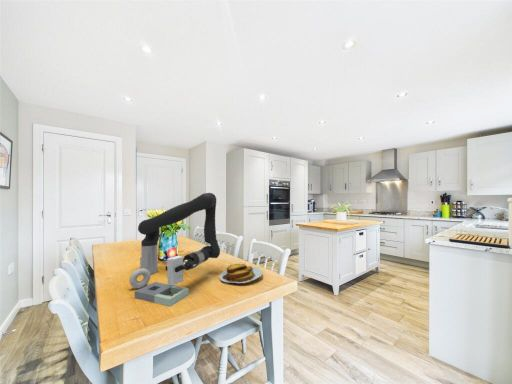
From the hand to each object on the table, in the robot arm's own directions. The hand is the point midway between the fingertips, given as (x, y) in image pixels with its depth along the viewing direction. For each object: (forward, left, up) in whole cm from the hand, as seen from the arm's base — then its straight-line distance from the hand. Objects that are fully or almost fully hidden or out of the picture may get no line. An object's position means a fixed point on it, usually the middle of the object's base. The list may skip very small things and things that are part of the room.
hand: (170, 269), depth 100 cm
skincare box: (0, +3, -7) cm, 8 cm away
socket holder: (-6, 0, -13) cm, 15 cm away
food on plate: (+19, +36, -14) cm, 43 cm away
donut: (-24, +4, -14) cm, 28 cm away
